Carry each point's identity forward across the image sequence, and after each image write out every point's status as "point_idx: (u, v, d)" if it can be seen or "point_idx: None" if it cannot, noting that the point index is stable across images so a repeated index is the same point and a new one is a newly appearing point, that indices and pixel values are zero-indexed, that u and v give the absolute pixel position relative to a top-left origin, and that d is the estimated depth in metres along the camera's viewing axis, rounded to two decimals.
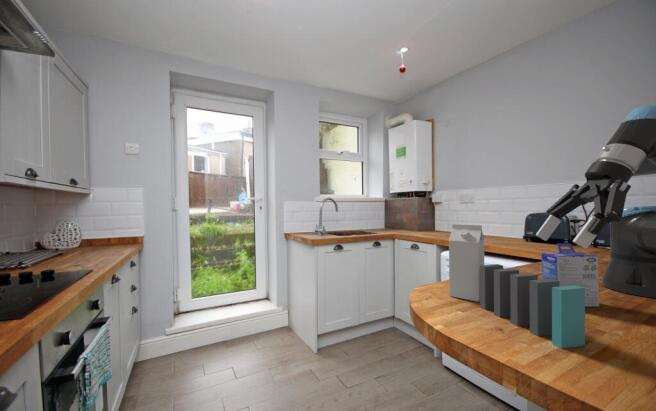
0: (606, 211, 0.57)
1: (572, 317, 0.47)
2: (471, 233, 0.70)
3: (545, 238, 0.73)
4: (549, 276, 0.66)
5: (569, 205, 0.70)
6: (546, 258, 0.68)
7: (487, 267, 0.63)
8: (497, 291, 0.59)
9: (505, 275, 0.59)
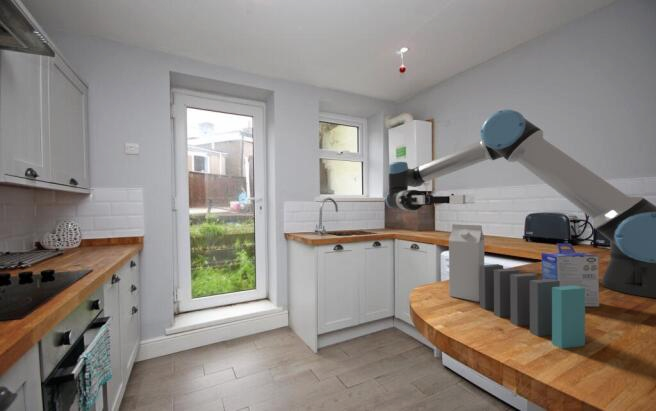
0: (403, 203, 0.88)
1: (572, 317, 0.47)
2: (471, 233, 0.70)
3: (462, 196, 0.83)
4: (549, 276, 0.66)
5: (437, 200, 0.93)
6: (546, 258, 0.68)
7: (487, 267, 0.63)
8: (497, 291, 0.59)
9: (505, 275, 0.59)
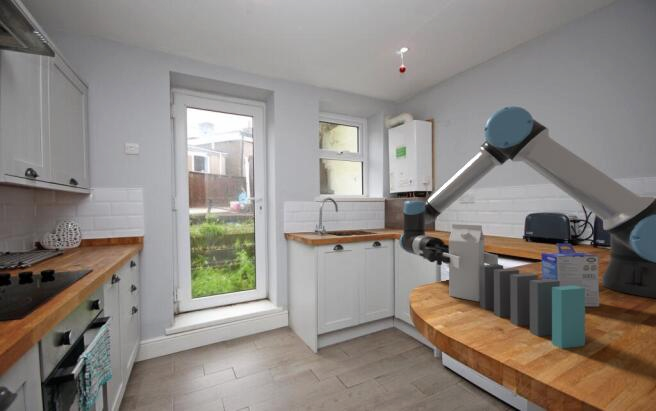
0: None
1: (572, 317, 0.47)
2: (471, 233, 0.70)
3: (494, 257, 0.69)
4: (549, 276, 0.66)
5: None
6: (546, 259, 0.68)
7: (487, 267, 0.63)
8: (497, 291, 0.59)
9: (505, 275, 0.59)
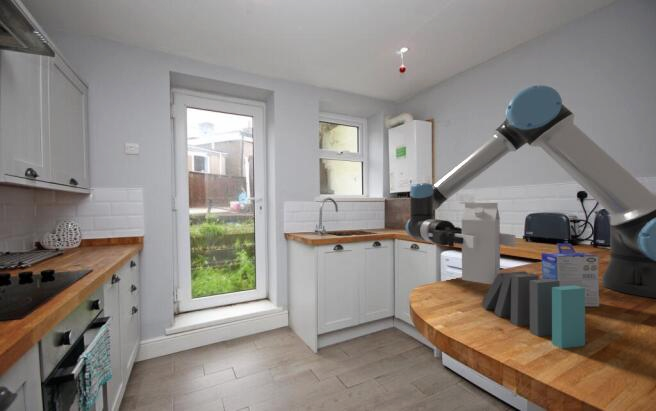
0: None
1: (572, 317, 0.47)
2: (486, 211, 0.65)
3: (511, 237, 0.64)
4: (549, 276, 0.66)
5: None
6: (546, 258, 0.68)
7: None
8: (503, 294, 0.58)
9: None
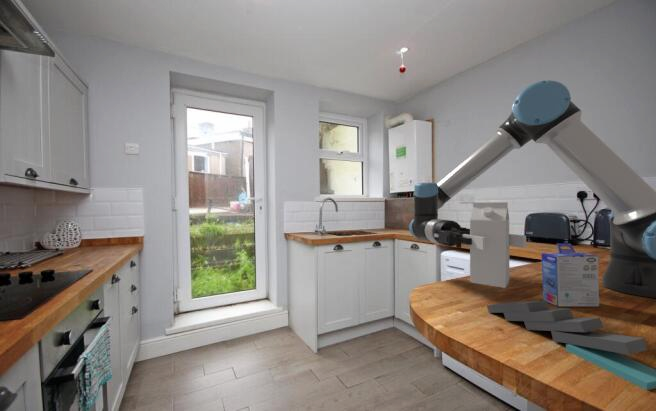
0: None
1: None
2: (495, 211, 0.63)
3: (521, 238, 0.62)
4: (549, 276, 0.66)
5: None
6: (546, 258, 0.68)
7: None
8: (529, 317, 0.52)
9: None
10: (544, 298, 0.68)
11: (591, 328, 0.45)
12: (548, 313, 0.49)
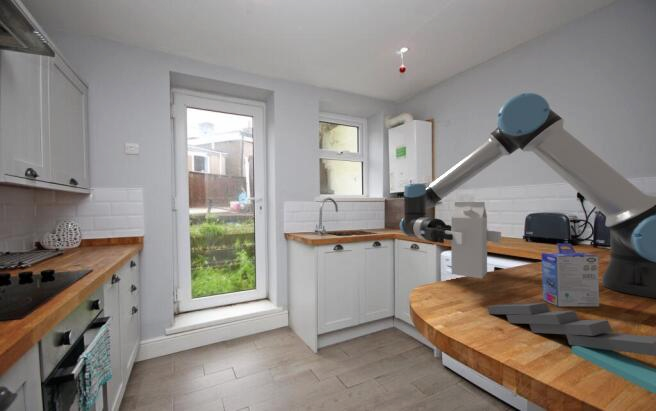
0: None
1: None
2: (474, 210, 0.69)
3: (497, 234, 0.68)
4: (549, 276, 0.66)
5: None
6: (546, 258, 0.68)
7: (533, 313, 0.52)
8: (533, 320, 0.51)
9: None
10: (544, 298, 0.68)
11: (600, 331, 0.44)
12: (553, 316, 0.48)
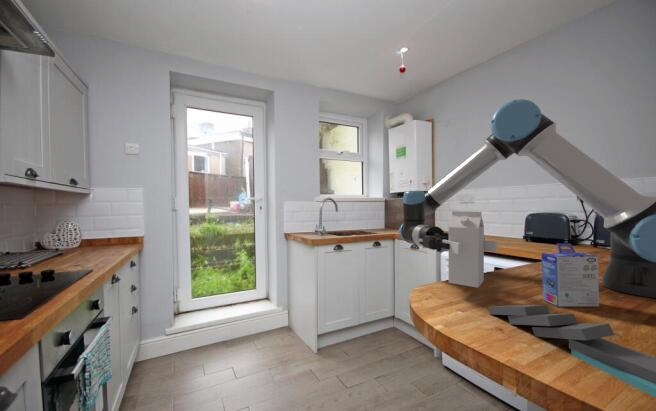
0: None
1: None
2: (471, 219, 0.70)
3: (493, 243, 0.69)
4: (549, 276, 0.66)
5: None
6: (546, 258, 0.68)
7: (529, 315, 0.51)
8: (529, 321, 0.51)
9: None
10: (544, 298, 0.68)
11: (596, 335, 0.42)
12: (545, 317, 0.47)
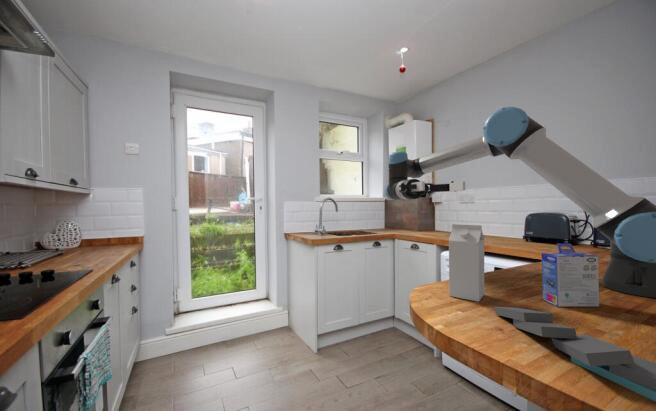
0: None
1: None
2: (471, 233, 0.70)
3: (462, 183, 0.83)
4: (549, 276, 0.66)
5: (437, 188, 0.93)
6: (546, 258, 0.68)
7: (528, 321, 0.50)
8: (527, 327, 0.49)
9: None
10: (544, 298, 0.68)
11: (607, 362, 0.37)
12: (539, 327, 0.46)
